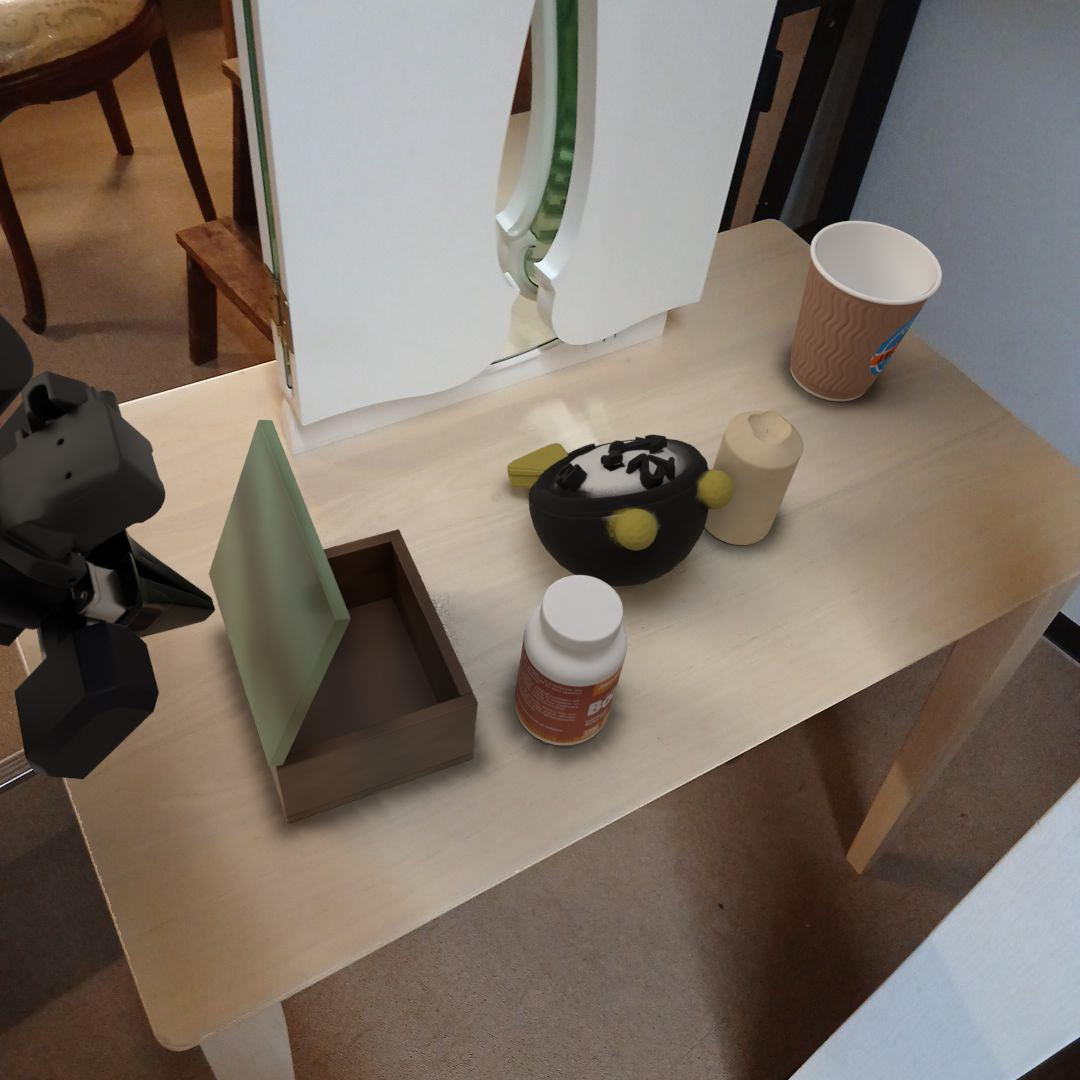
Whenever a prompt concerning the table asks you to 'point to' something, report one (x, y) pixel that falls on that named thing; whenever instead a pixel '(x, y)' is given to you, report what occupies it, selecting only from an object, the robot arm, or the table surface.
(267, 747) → the lid
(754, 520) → the candle
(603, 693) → the pill bottle
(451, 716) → the chest
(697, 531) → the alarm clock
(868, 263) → the coffee cup
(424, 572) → the table surface
